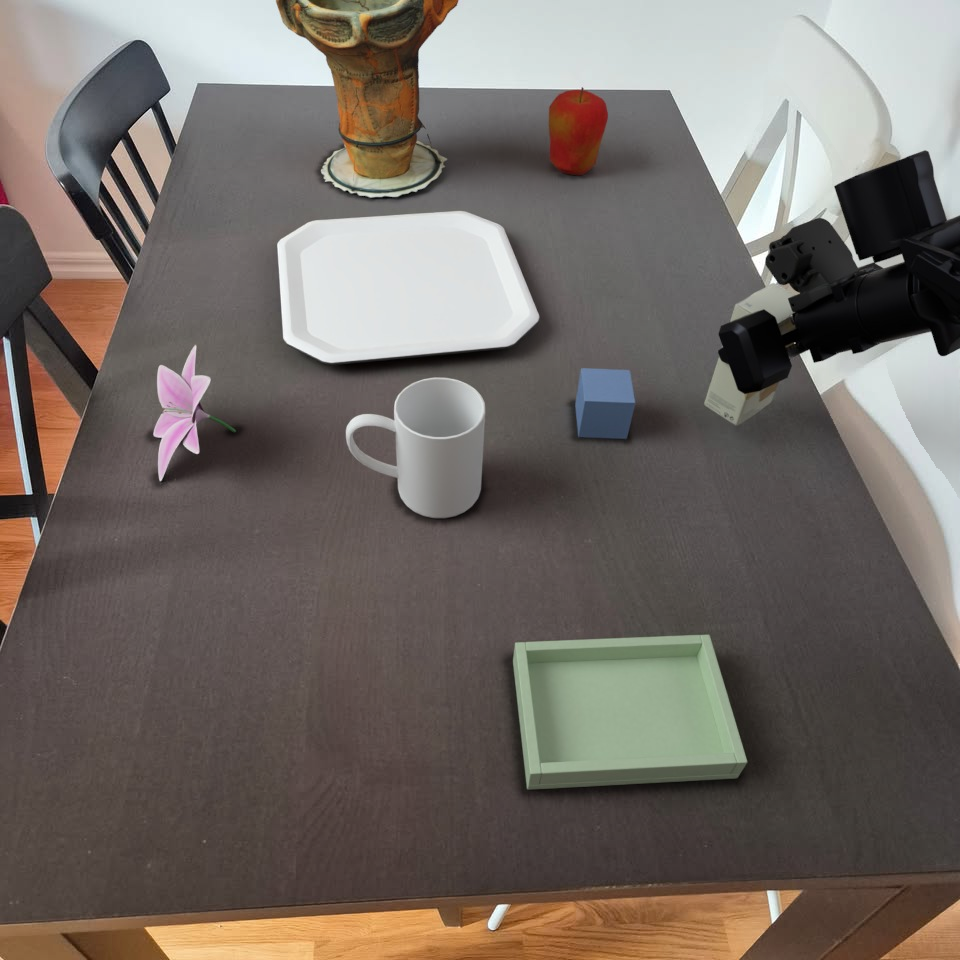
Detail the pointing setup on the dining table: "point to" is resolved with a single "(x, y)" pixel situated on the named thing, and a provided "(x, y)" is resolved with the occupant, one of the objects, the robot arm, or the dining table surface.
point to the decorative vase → (374, 87)
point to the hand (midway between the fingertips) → (745, 344)
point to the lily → (180, 410)
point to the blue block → (604, 403)
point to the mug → (432, 445)
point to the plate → (401, 288)
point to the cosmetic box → (723, 386)
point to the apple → (576, 130)
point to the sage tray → (624, 712)
